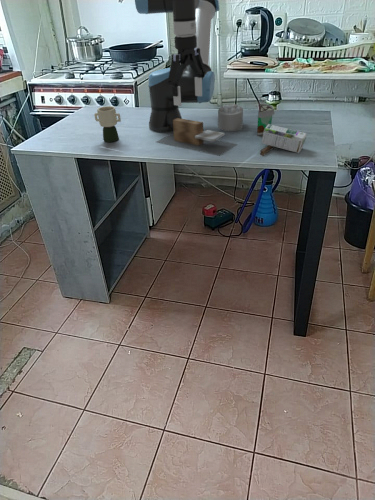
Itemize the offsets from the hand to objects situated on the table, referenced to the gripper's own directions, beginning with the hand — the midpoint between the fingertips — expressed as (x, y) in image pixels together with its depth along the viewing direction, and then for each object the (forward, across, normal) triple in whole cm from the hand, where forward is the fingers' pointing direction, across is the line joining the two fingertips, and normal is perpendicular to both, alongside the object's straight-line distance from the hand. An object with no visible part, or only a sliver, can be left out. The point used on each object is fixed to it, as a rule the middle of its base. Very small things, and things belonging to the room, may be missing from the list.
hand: (188, 100), depth 142 cm
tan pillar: (+16, -1, -3) cm, 16 cm away
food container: (+16, +23, -21) cm, 35 cm away
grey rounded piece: (+17, +24, -4) cm, 29 cm away
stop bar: (+16, +7, -30) cm, 35 cm away
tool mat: (+16, -1, -3) cm, 16 cm away
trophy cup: (+16, -14, +30) cm, 37 cm away
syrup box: (+11, +9, -27) cm, 31 cm away
